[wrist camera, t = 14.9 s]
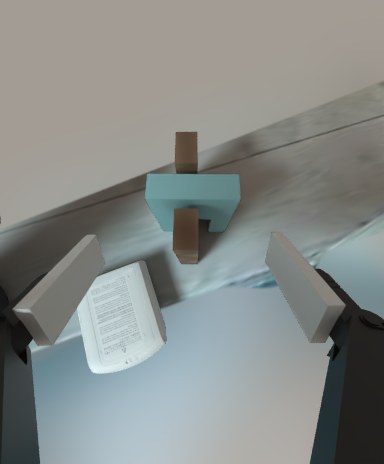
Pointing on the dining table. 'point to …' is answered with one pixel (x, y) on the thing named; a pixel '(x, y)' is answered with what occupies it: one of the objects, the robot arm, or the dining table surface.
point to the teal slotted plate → (193, 197)
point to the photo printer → (121, 319)
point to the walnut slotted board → (186, 218)
